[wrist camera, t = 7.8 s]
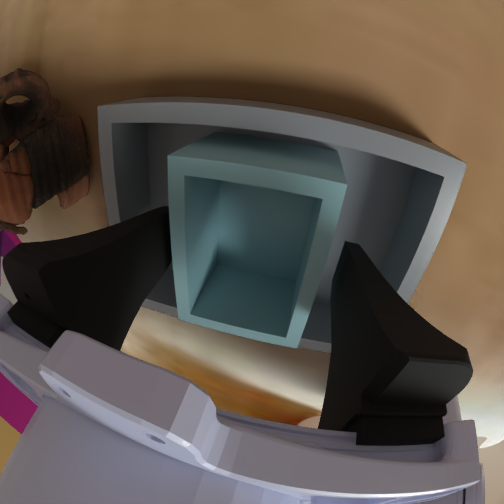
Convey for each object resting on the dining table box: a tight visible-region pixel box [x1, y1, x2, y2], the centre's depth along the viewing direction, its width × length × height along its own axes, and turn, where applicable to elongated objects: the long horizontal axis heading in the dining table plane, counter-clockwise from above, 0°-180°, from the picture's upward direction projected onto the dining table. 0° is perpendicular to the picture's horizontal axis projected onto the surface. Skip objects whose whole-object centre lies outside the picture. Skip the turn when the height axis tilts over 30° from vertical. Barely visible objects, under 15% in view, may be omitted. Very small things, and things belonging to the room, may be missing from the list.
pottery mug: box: [0, 68, 89, 235], centre depth 12 cm, size 12×10×8 cm
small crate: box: [168, 132, 347, 349], centre depth 12 cm, size 8×6×4 cm
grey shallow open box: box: [97, 96, 467, 353], centre depth 13 cm, size 11×14×4 cm
